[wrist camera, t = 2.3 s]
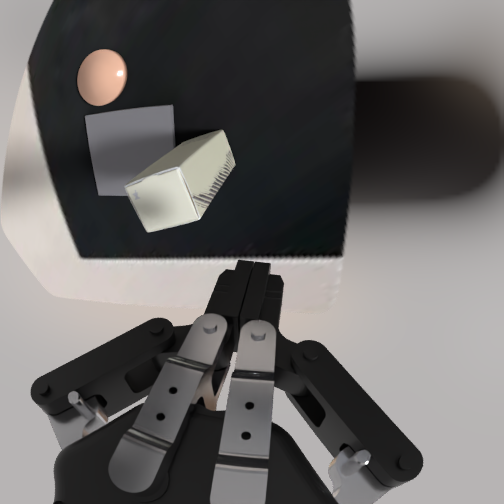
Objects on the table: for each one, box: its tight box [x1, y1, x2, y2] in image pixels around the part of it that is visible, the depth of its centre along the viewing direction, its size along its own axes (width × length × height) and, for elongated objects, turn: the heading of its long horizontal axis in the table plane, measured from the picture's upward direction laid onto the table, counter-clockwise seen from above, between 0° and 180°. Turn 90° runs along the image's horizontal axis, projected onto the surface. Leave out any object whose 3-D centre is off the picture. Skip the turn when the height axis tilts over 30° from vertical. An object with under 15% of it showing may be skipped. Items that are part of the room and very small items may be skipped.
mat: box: [85, 105, 176, 196], centre depth 32 cm, size 11×12×1 cm
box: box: [124, 130, 235, 232], centre depth 26 cm, size 5×4×13 cm
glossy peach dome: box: [77, 49, 127, 106], centre depth 26 cm, size 7×7×1 cm
